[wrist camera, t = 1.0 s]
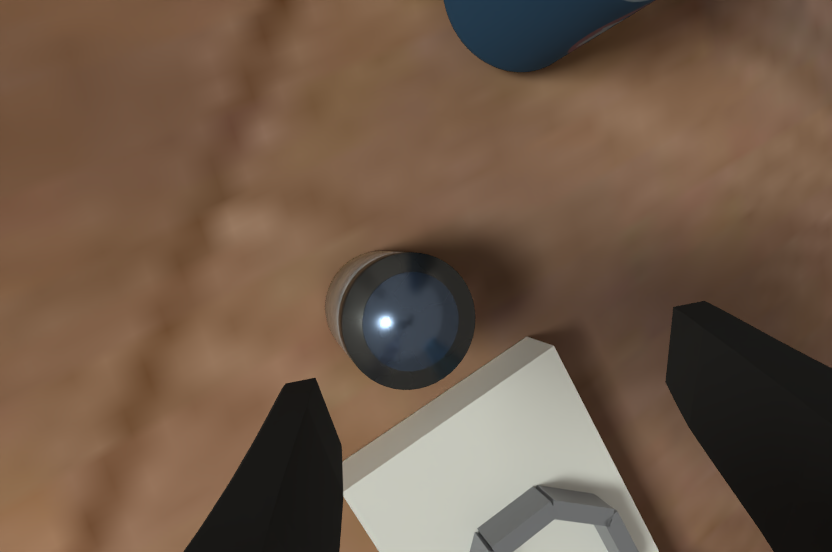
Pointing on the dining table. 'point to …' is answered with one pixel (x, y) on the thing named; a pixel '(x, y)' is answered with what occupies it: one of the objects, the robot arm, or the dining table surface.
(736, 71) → the dining table surface
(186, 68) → the dining table surface
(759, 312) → the dining table surface
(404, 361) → the lens
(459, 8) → the soda can
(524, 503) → the camera body
